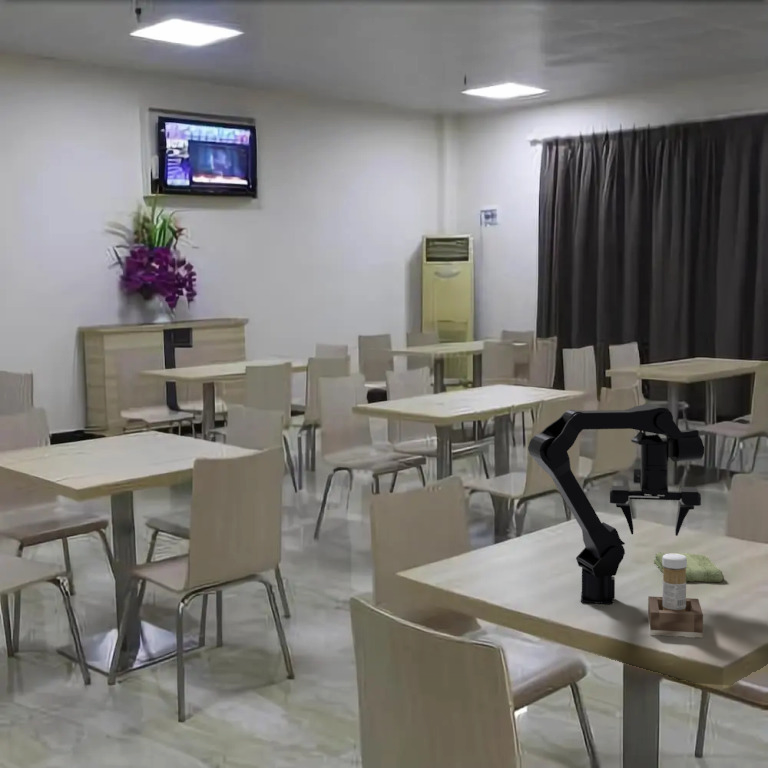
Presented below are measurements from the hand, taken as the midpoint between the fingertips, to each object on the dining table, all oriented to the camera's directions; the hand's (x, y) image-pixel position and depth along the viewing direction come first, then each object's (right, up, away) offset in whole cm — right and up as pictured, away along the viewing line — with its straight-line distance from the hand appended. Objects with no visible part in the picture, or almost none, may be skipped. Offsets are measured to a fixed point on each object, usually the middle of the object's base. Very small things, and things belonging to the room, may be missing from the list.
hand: (654, 534), depth 212 cm
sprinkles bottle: (-2, -15, -20) cm, 24 cm away
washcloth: (+12, -12, +17) cm, 24 cm away
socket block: (-1, -15, -20) cm, 25 cm away
